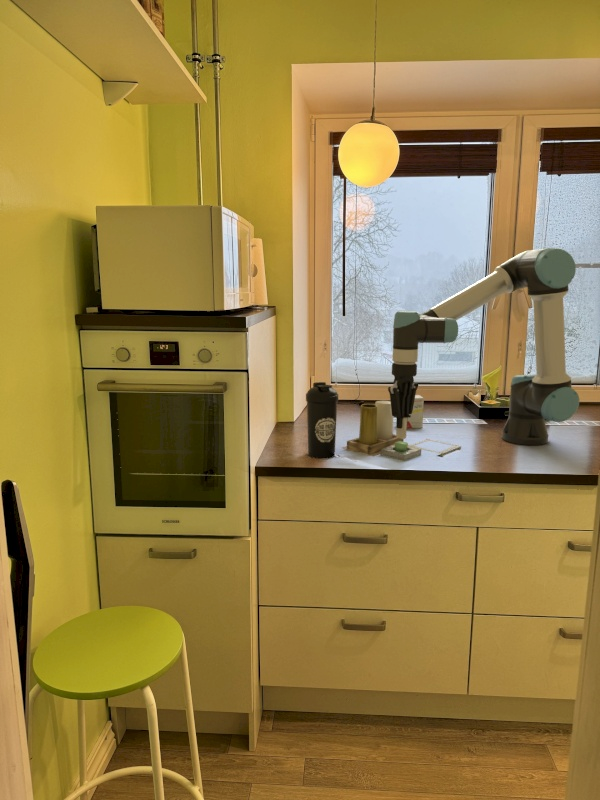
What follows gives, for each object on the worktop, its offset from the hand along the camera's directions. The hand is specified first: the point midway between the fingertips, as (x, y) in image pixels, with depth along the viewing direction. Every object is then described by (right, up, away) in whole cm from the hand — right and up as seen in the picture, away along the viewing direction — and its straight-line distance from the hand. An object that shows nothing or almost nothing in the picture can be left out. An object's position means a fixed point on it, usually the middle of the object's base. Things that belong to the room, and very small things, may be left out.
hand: (401, 437), depth 183 cm
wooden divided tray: (-7, -5, +11) cm, 13 cm away
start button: (0, -4, +1) cm, 4 cm away
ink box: (+10, +1, +41) cm, 42 cm away
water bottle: (-25, -6, +5) cm, 26 cm away
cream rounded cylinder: (-4, -3, +13) cm, 14 cm away
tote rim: (+13, -5, +11) cm, 18 cm away
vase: (-10, -4, +7) cm, 13 cm away
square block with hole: (0, -7, +1) cm, 7 cm away
